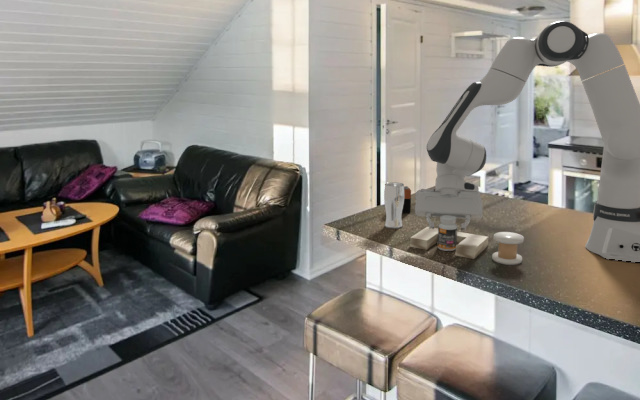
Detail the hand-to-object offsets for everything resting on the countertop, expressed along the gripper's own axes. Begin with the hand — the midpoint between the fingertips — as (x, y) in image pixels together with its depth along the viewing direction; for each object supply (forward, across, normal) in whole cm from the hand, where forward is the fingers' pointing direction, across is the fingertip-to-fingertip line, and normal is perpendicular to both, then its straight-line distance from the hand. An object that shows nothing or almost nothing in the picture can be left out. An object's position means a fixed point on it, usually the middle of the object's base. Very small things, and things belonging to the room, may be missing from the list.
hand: (447, 228), depth 153 cm
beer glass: (-10, -18, +19) cm, 28 cm away
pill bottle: (+4, 0, +5) cm, 7 cm away
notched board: (+3, +1, +6) cm, 7 cm away
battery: (-23, -18, +32) cm, 43 cm away
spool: (+8, +17, +1) cm, 19 cm away
